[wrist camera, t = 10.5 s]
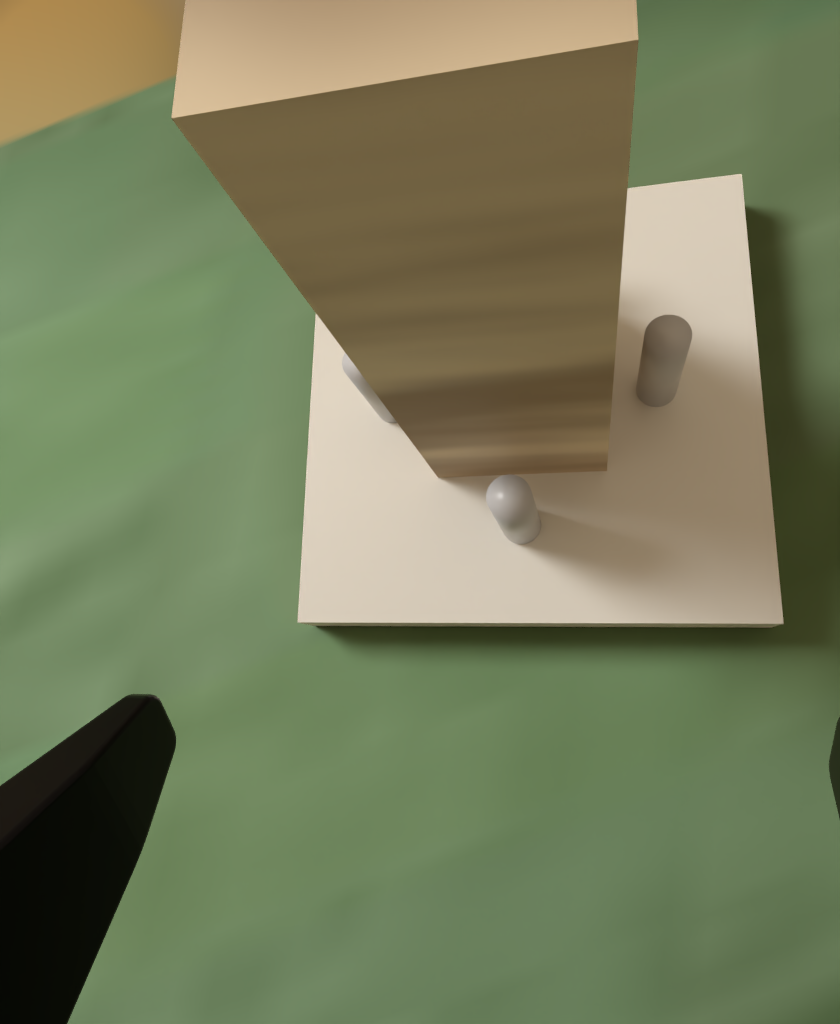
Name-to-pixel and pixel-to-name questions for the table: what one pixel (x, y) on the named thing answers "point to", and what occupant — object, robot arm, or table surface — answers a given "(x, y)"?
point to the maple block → (437, 200)
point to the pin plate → (572, 495)
